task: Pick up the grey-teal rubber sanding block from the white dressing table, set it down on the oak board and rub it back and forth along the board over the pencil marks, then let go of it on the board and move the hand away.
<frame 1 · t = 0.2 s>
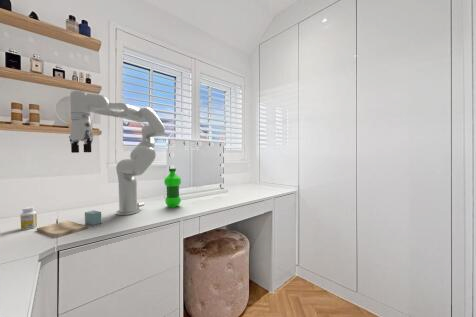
hand: (81, 152, 103), 36 cm above the table, tool pointing down, fingers open, 9 cm apart
plastic bottle: (173, 206, 137), on the table
supplement bottle: (29, 228, 100), on the table
sanding block: (93, 224, 105), on the table
board: (62, 229, 97), on the table
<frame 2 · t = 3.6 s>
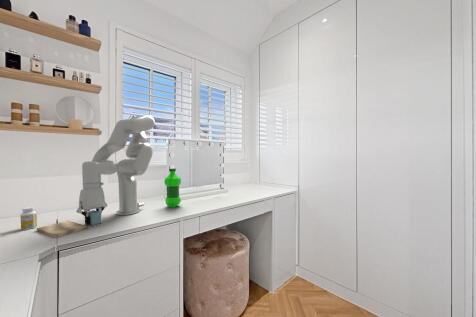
hand: (93, 222, 105), 1 cm above the table, tool pointing down, fingers closed on sanding block, 4 cm apart
sanding block: (93, 223, 105), on the table, touching gripper
everything else where it was.
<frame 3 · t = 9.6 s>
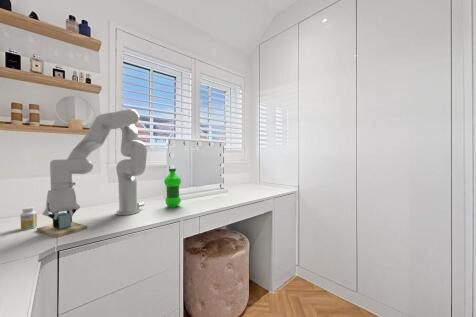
hand: (62, 225, 96), 2 cm above the table, tool pointing down, fingers closed on sanding block, 3 cm apart
sanding block: (62, 227, 97), point 1 cm above the table, touching board, gripper
everything else where it was.
when the fingers open (3 cm above the table, at t = 15.9 s): sanding block stays where it is, resting on board.
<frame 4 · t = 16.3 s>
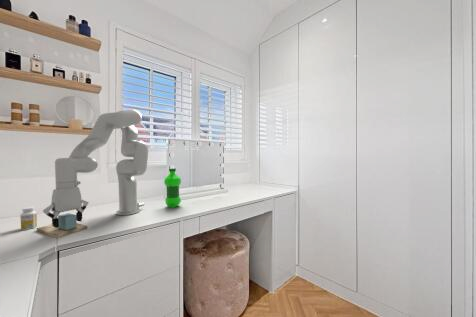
hand: (68, 223, 94), 4 cm above the table, tool pointing down, fingers open, 8 cm apart
sanding block: (67, 228, 95), point 1 cm above the table, touching board
everything else where it was.
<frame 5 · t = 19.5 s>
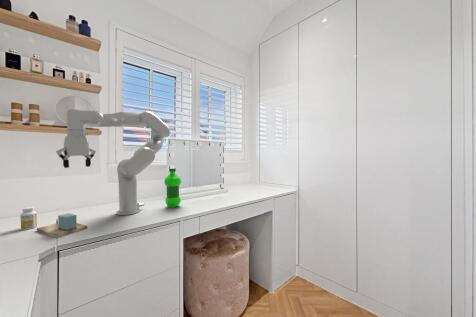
hand: (77, 167, 108), 28 cm above the table, tool pointing down, fingers open, 9 cm apart
nothing on the table moved.
at the end: sanding block inside the target area on the board (4.8 cm from its centre), point 1.2 cm above the board's base; sanding block moved 11.0 cm from its start; the gripper is holding nothing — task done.
